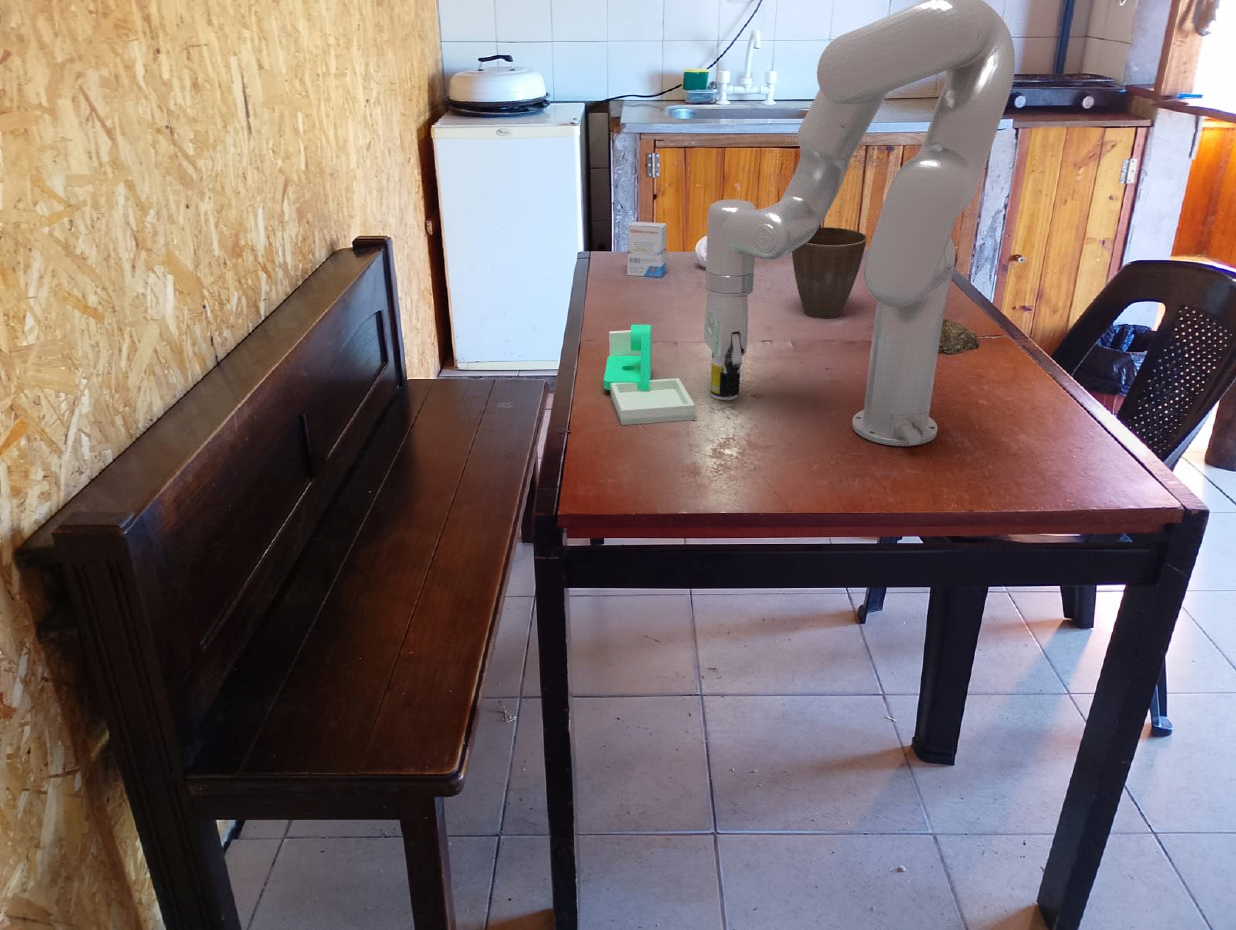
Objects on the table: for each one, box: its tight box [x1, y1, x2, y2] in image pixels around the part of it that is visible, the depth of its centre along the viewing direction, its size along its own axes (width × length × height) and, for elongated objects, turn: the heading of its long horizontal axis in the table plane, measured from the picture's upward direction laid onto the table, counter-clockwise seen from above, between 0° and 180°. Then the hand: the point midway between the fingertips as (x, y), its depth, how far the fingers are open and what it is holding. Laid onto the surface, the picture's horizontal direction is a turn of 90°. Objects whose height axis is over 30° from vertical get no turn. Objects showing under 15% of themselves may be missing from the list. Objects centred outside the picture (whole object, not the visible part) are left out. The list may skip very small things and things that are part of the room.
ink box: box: [626, 221, 668, 278], centre depth 225 cm, size 9×5×12 cm, turn 72°
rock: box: [938, 318, 980, 355], centre depth 182 cm, size 13×12×5 cm
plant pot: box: [791, 226, 868, 319], centre depth 196 cm, size 15×15×16 cm
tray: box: [610, 377, 696, 426], centre depth 156 cm, size 12×12×2 cm
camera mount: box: [603, 324, 653, 391], centre depth 164 cm, size 12×8×10 cm, turn 177°
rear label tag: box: [608, 329, 641, 356], centre depth 171 cm, size 1×6×7 cm, turn 99°
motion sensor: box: [694, 235, 707, 269], centre depth 230 cm, size 8×8×8 cm
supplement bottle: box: [709, 351, 740, 401], centre depth 159 cm, size 5×5×8 cm
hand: (724, 387), depth 161 cm, fingers closed on supplement bottle, 4 cm apart
